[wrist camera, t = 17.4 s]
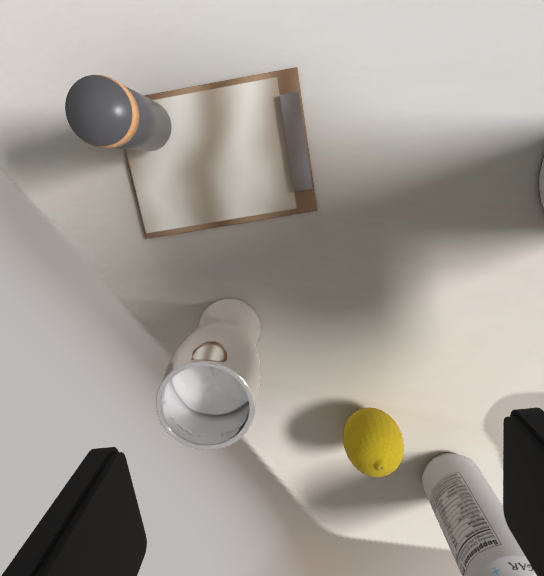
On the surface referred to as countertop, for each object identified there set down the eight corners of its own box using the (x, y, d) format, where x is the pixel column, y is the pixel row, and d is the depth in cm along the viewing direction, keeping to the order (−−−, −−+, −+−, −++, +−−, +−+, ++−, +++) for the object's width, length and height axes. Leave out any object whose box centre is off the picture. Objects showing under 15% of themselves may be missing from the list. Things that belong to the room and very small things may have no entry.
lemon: (365, 450, 47) (382, 505, 39) (327, 419, 46) (336, 470, 38) (402, 415, 46) (427, 465, 38) (364, 383, 45) (381, 428, 37)
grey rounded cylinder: (171, 98, 37) (122, 67, 26) (182, 148, 39) (139, 140, 27) (125, 107, 38) (55, 81, 26) (137, 156, 39) (75, 152, 27)
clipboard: (296, 68, 37) (297, 65, 36) (316, 210, 40) (317, 211, 39) (114, 102, 38) (109, 100, 37) (147, 238, 41) (143, 240, 40)
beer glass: (183, 309, 43) (134, 381, 29) (248, 283, 42) (231, 343, 28) (213, 369, 45) (180, 466, 30) (276, 345, 44) (274, 432, 30)
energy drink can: (450, 505, 49) (522, 648, 34) (407, 478, 48) (462, 613, 33) (487, 466, 47) (578, 599, 33) (443, 438, 46) (517, 561, 32)
